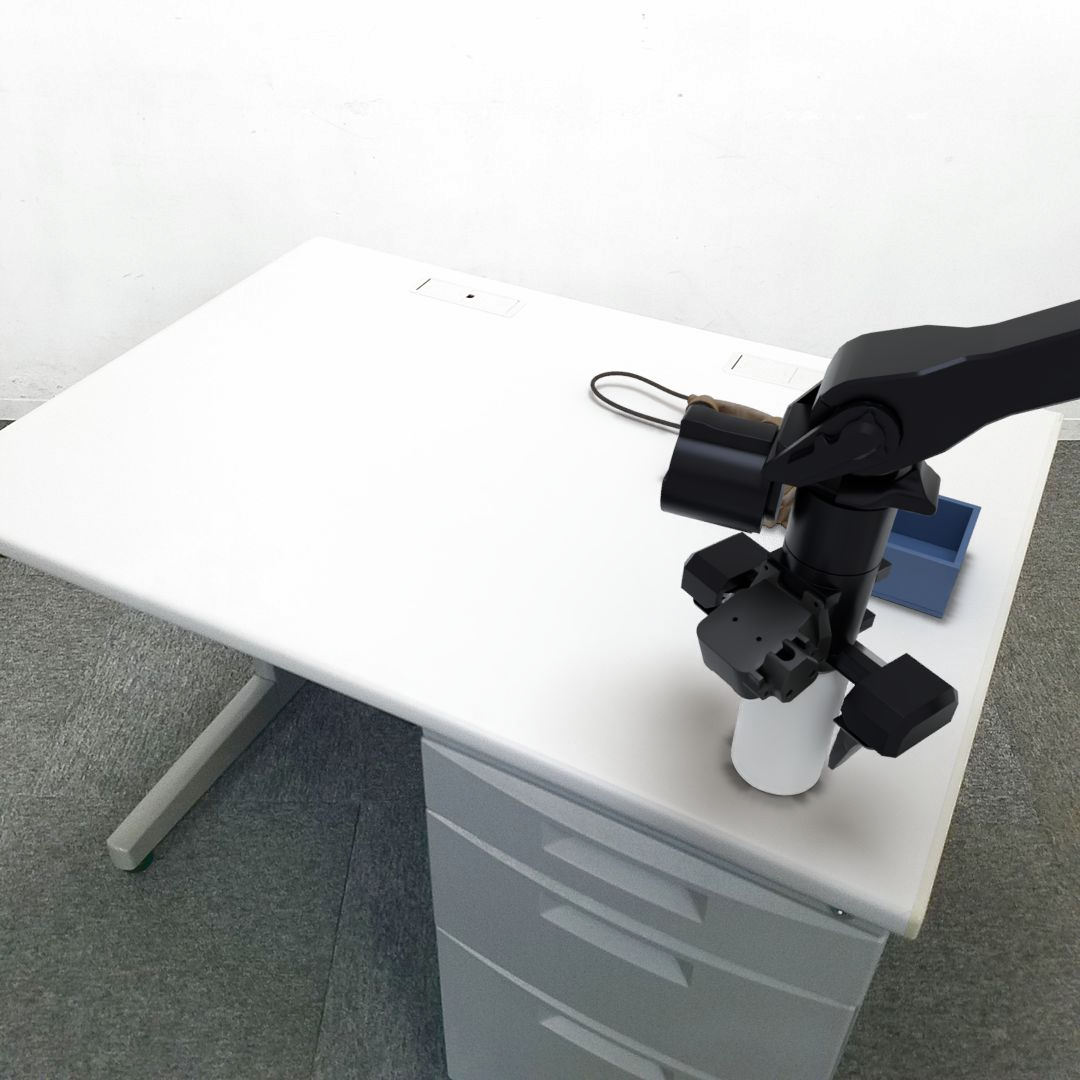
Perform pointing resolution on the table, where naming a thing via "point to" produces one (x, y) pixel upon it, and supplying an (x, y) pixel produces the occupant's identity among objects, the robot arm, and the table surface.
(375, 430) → the table surface
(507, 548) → the table surface
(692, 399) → the telephone
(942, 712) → the robot arm
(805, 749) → the can
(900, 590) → the bin
